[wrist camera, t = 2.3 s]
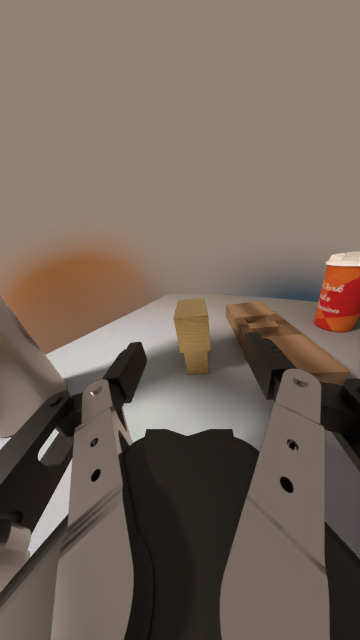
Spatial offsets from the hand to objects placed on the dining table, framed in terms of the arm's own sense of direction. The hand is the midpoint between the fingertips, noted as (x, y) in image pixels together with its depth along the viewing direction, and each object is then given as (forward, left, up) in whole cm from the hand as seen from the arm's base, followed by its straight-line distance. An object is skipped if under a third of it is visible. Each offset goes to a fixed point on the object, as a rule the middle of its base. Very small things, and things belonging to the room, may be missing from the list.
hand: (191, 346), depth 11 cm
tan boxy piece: (0, +11, -12) cm, 17 cm away
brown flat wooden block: (+13, +16, -12) cm, 24 cm away
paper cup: (+29, +19, -12) cm, 37 cm away
